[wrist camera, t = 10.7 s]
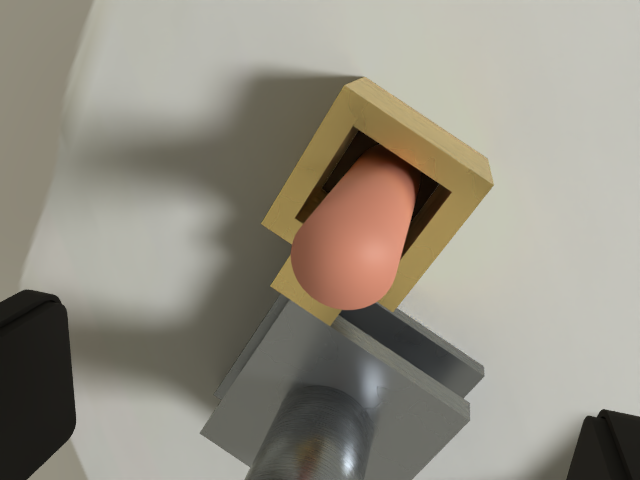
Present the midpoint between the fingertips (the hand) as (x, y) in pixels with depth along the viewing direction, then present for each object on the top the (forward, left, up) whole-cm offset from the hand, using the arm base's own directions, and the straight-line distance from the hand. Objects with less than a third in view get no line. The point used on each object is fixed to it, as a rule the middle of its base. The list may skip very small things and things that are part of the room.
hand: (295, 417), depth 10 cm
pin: (+1, 0, -16) cm, 16 cm away
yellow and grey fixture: (-2, +6, -16) cm, 17 cm away
